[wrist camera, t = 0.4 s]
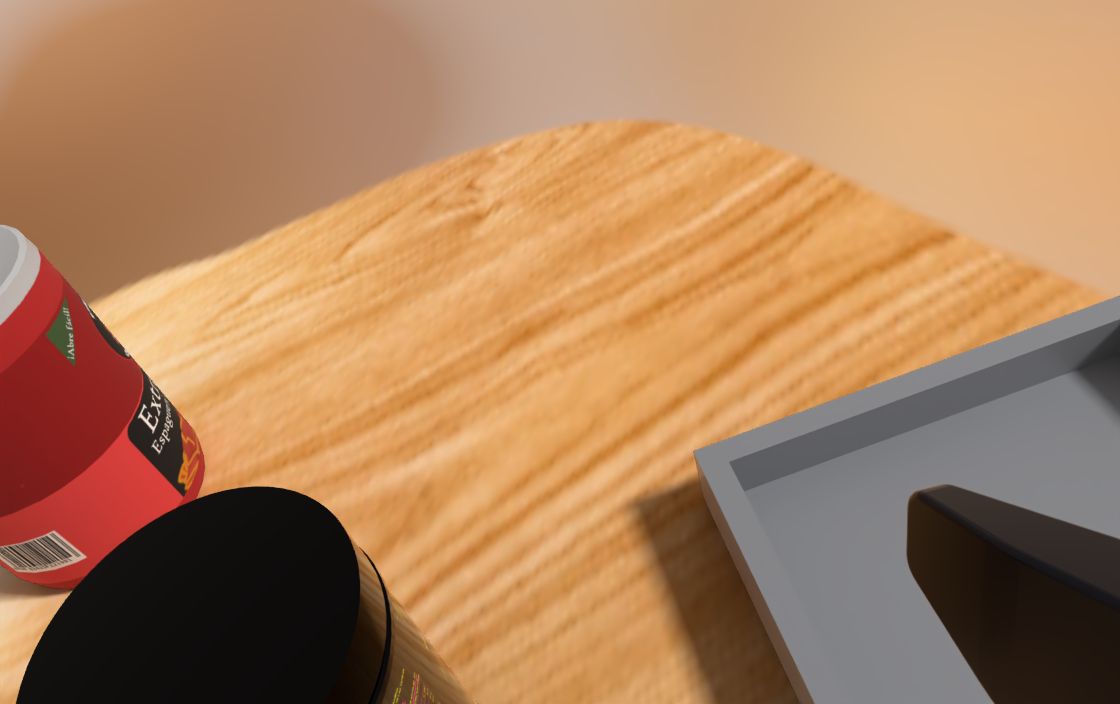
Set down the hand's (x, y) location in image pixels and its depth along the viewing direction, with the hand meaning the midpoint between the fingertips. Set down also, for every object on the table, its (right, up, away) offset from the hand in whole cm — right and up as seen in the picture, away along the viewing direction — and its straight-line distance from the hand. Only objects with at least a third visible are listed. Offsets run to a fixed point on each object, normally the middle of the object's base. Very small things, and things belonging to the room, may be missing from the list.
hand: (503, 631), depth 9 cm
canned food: (-17, -3, +25) cm, 31 cm away
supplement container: (-4, -10, +15) cm, 18 cm away
